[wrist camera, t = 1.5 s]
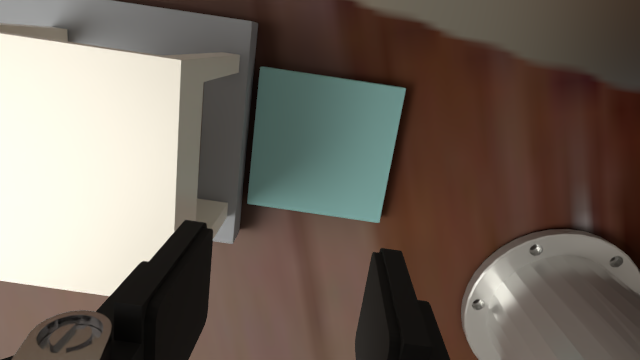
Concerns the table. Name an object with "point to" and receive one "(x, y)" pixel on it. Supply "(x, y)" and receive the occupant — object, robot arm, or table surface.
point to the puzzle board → (172, 39)
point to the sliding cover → (96, 156)
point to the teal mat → (323, 143)
